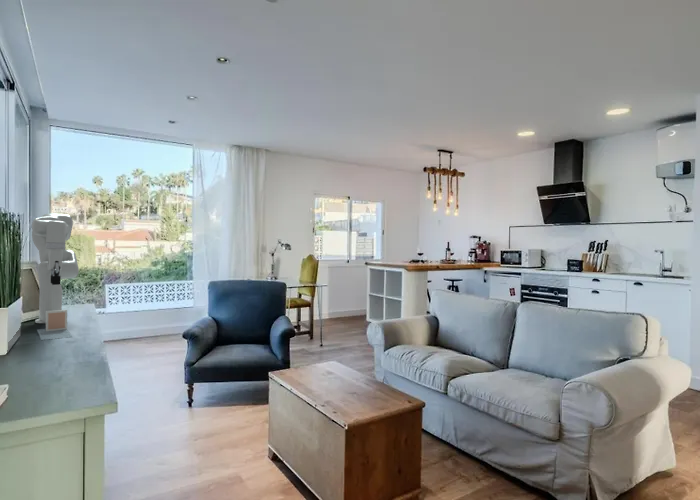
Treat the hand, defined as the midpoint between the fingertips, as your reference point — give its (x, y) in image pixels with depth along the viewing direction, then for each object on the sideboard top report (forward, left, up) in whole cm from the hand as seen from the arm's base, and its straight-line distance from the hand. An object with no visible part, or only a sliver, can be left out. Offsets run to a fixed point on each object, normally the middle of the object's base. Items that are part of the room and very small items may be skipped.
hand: (55, 283), depth 198 cm
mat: (+14, -1, -22) cm, 26 cm away
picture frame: (+7, 0, -21) cm, 22 cm away
